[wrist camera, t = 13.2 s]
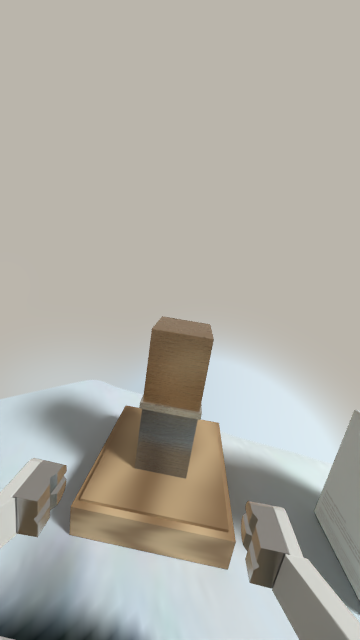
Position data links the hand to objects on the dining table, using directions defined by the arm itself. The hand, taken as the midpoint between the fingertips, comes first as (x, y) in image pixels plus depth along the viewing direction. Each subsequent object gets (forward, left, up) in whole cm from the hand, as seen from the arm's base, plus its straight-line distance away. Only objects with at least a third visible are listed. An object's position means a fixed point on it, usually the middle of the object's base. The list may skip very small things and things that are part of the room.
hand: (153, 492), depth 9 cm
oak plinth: (0, +11, -12) cm, 17 cm away
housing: (0, +11, -9) cm, 15 cm away
